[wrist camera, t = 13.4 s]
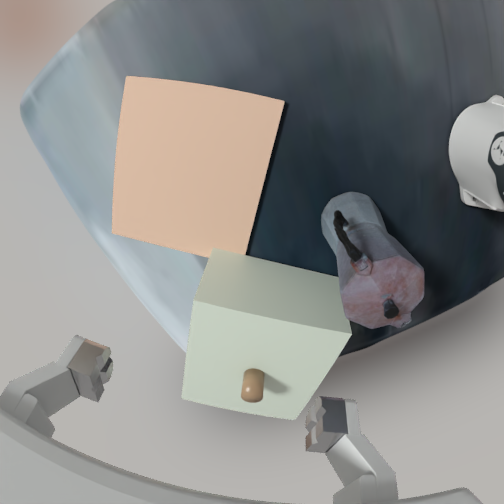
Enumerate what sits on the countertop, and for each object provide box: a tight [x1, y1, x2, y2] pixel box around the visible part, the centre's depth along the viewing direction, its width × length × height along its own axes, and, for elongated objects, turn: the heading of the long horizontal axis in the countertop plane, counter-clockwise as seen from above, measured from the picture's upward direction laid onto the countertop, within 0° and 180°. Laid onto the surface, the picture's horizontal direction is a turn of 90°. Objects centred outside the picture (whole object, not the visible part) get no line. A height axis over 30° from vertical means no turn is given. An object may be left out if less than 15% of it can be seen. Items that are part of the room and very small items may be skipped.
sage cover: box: [182, 248, 352, 420], centre depth 46 cm, size 20×23×17 cm
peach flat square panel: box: [112, 76, 285, 258], centre depth 42 cm, size 22×25×1 cm
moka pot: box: [321, 192, 424, 329], centre depth 35 cm, size 10×15×20 cm, turn 46°
